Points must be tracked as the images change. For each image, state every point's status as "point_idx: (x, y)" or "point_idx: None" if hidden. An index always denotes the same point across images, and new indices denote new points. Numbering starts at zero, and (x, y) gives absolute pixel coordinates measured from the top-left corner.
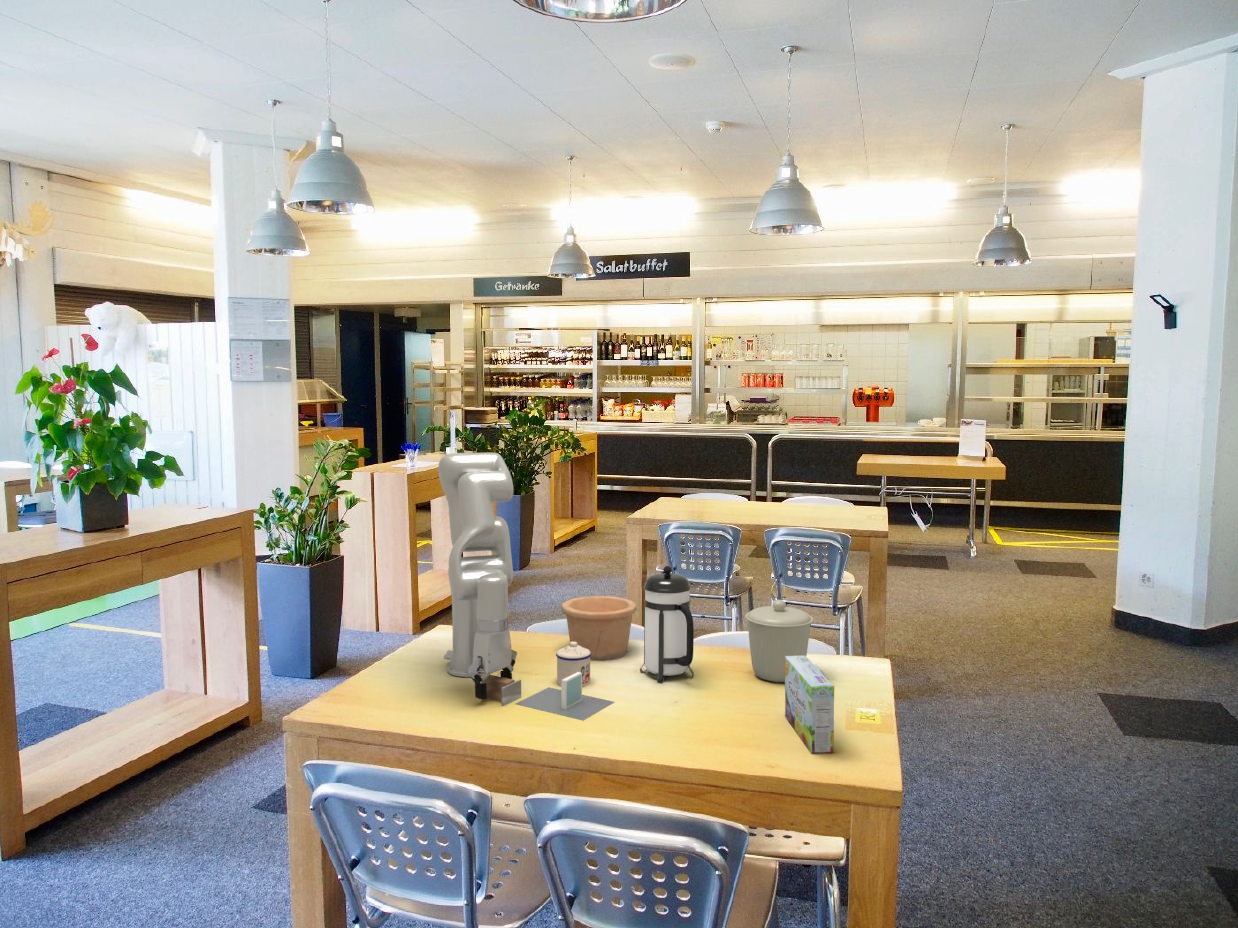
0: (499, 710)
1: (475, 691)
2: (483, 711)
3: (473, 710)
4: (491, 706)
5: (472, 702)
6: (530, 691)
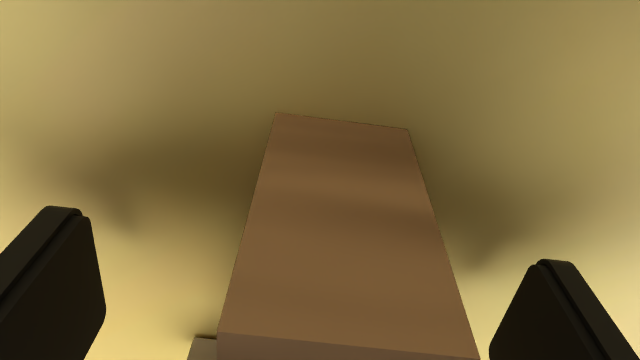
0: (171, 329)
1: (5, 256)
2: None
3: (25, 175)
4: (202, 254)
5: (179, 47)
6: (635, 343)
